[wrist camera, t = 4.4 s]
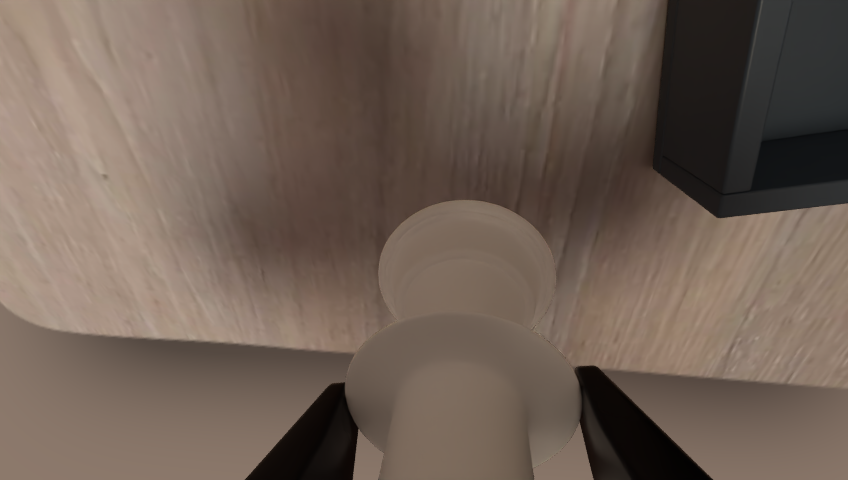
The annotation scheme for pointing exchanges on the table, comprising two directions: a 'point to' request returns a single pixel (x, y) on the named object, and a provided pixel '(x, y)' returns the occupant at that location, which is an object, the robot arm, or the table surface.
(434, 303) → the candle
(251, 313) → the table surface
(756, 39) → the bin
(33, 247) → the table surface
